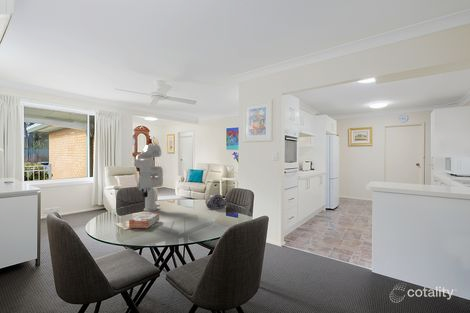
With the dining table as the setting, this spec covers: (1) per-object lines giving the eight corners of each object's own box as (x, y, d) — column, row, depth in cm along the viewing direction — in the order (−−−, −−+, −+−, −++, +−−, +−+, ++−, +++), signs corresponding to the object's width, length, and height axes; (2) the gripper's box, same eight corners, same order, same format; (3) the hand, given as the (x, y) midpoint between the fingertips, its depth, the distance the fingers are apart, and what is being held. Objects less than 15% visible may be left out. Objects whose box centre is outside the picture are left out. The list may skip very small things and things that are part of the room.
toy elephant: (223, 207, 244) (221, 192, 246) (230, 207, 228) (228, 192, 230) (205, 210, 235) (203, 195, 237) (210, 210, 220) (208, 194, 222)
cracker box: (159, 212, 190) (146, 220, 169) (159, 220, 190) (146, 228, 169) (143, 212, 191) (128, 220, 170) (143, 219, 191) (128, 228, 171)
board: (142, 218, 198) (142, 217, 198) (153, 223, 184) (153, 222, 184) (114, 224, 182) (114, 223, 182) (125, 230, 168) (125, 229, 168)
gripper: (151, 173, 197) (151, 194, 198) (133, 174, 186) (134, 197, 187) (156, 173, 192) (156, 196, 193) (138, 175, 181) (138, 199, 182)
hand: (145, 196), depth 190 cm, fingers closed
